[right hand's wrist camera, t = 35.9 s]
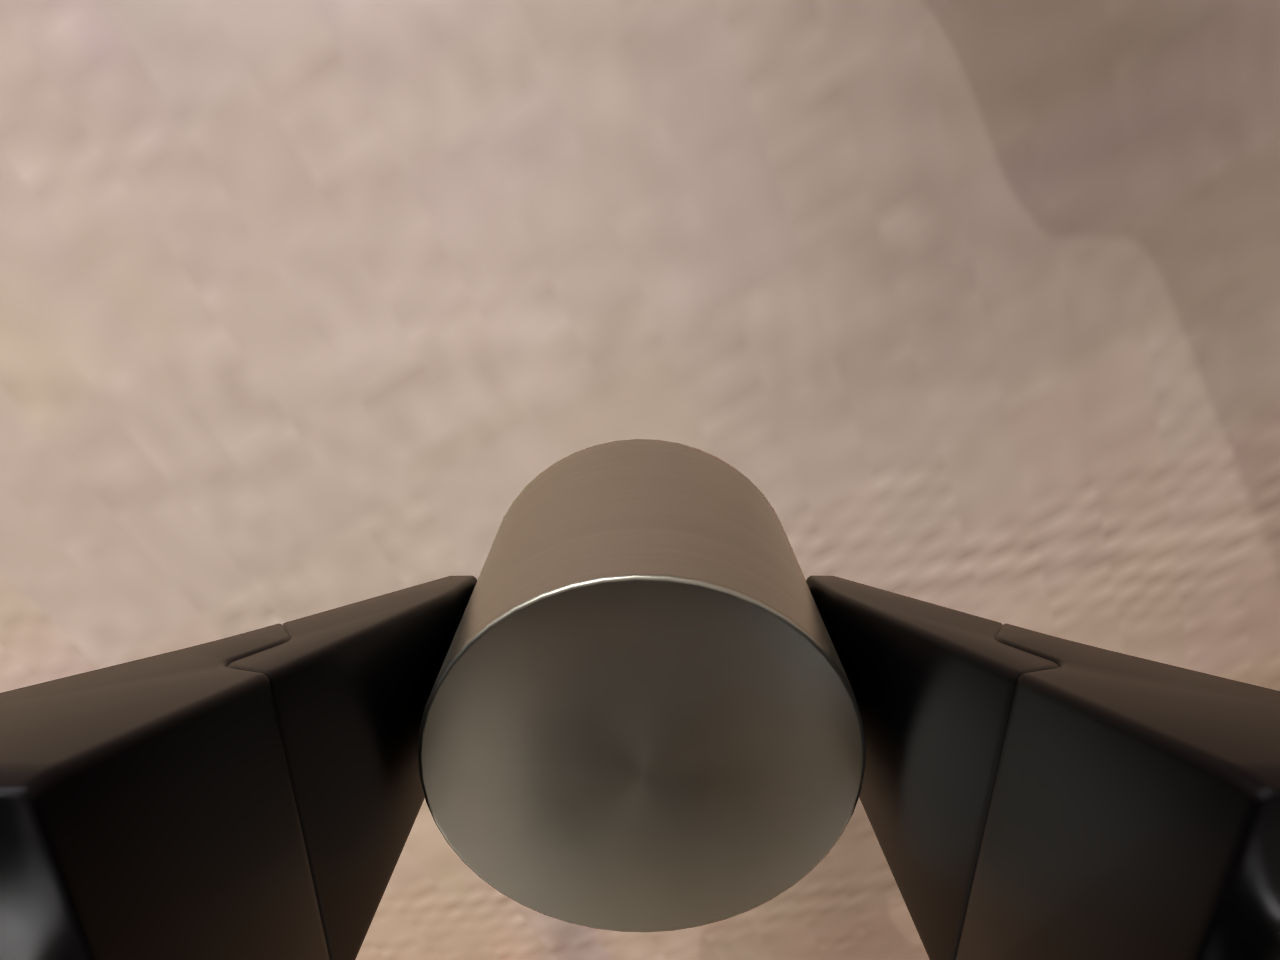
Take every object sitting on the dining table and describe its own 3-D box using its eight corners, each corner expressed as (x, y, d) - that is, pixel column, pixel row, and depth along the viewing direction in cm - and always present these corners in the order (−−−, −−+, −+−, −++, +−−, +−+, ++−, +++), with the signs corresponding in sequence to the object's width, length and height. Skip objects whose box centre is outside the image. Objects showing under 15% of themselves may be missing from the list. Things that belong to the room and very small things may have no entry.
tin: (802, 683, 13) (877, 909, 9) (526, 720, 13) (476, 955, 9) (776, 414, 11) (855, 542, 7) (458, 464, 12) (359, 613, 8)
